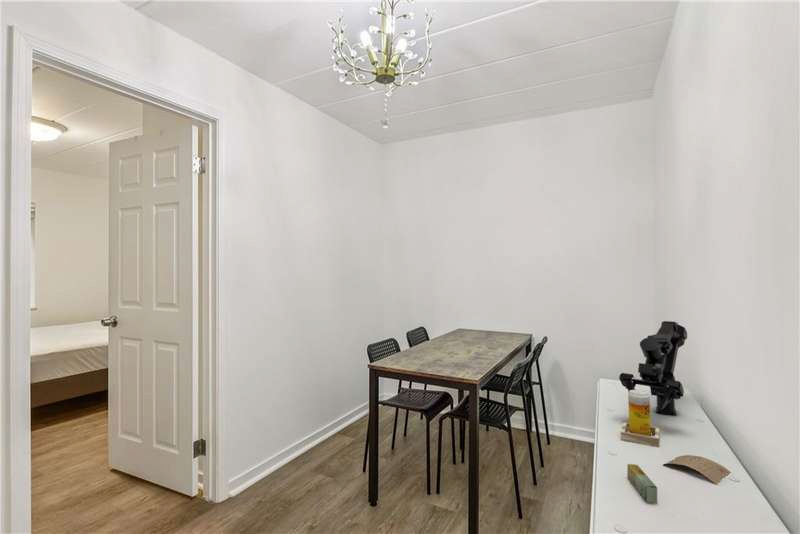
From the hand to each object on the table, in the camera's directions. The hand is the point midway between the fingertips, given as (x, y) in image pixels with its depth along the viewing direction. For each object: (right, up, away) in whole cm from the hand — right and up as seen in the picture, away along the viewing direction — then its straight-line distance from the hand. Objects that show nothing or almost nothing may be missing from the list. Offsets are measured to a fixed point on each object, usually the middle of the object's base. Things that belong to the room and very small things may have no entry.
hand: (645, 405), depth 135 cm
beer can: (-5, -9, -5) cm, 11 cm away
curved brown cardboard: (-2, -9, -26) cm, 28 cm away
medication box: (-23, -10, -35) cm, 43 cm away
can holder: (-5, -9, -5) cm, 11 cm away
